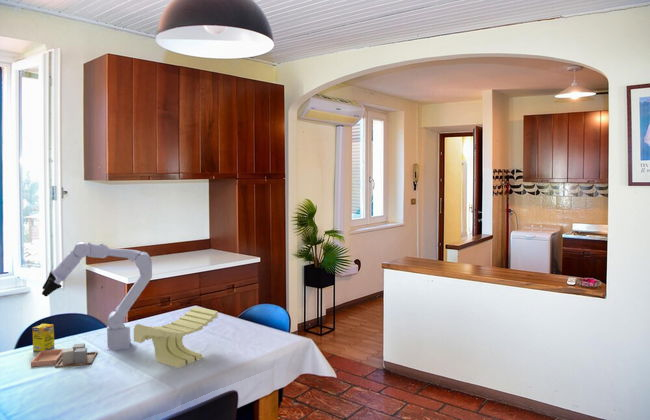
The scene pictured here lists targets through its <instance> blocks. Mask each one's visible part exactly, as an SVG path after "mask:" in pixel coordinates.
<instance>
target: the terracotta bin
mask: <svg viewBox="0 0 650 420" xmlns="http://www.w3.org/2000/svg"><path fill="white" fill-rule="evenodd" d="M62 349H63V348H59V349H50V350H42V351H40V352H37V354H36V356H35V357H34V358H33V359H31V361H30V367H31V368H32V367H34V368H35V367H44V366H55V365H56V364H57V363H58V361H59V360H60V359H61V357H62Z"/></svg>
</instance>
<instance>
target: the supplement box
mask: <svg viewBox="0 0 650 420" xmlns="http://www.w3.org/2000/svg"><path fill="white" fill-rule="evenodd" d="M31 330H32V350H33V353H36V352H37V353H39V352H40V351H42V350H53V349H54V348H55V327H54V324H53V323H51V324H49V323H41V324H40V325H36V326H33V327H31Z"/></svg>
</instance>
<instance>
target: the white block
mask: <svg viewBox="0 0 650 420" xmlns="http://www.w3.org/2000/svg"><path fill="white" fill-rule="evenodd" d="M61 349H62V364H63V365H65V364H71V363H74V355H73V348H72V347H70V348H61Z"/></svg>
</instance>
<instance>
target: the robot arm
mask: <svg viewBox="0 0 650 420" xmlns="http://www.w3.org/2000/svg"><path fill="white" fill-rule="evenodd" d="M85 257H88V258H96V259H97V258H98V259H105V258H107V257H116V258H125V259H128V260H129V261H131V263H135V266H136V267H137V269H138V272H139V277H138V278H137V279H136V280H135V282H134V284H133V285H132V286H131V288H130V289H129V291H128V292H127V293H126V295H125V296H124V297H123V299H122V300H121V302H120V304H118V305H117V306H116V308H115V309H114V310H112V311H111V312H110V313H109V314H108V318H107V322H106V324H107V327H106V337H107V339H106V340H107V341H106V343H107V346H106V347H105V351H110V350H114V351H115V350H124V349H125V350H126V349H129V348H130V345H131V341H132V339H131V327H130V326H125V324H124V319H126V316H127V314H128V313H129V310H130V309H131V307H132V306H133V305H134V304H135V302H136V301H137V299H138V298H139V297H140V296H141V294H142V292H143V291H144V290H145V288H146V286H147V285H148V284H149V282H150V281H151V279H152V278H153V263H152V262H153V261H152V259H151V256H150V255H149V253H148V252H146V251H141V250H136V249H127V248H125V249H124V248H109V247H108V246H107V244H104V243H102V242H100V243H99V244H98V243H91V241H90V242H83V241H81V242H78V243H77V244H75V246H74V248H73V249H72V250H70V252H69V253H67V255H66V256H65V257H64V259H62V260H61V262H60V263H59V264H58V265H57V267H56V268H54V269H50V270H49V274H48V276H47V279H46V281H45V283H43V286H42V289H43V291H42V292H41V295H43V297H48V296H49V295H50V294H52V293H53V292H55V291H56V290H58V289H60V288H62V287H63V286H62V284H61V283H62V282H63V281H66V279H67V278H68V276H70V274H71V273H72V272H73V271H74V269H75V268H76V267H77V266H78V265H79V264H80V262H81V260H82V259H83V258H85Z"/></svg>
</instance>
